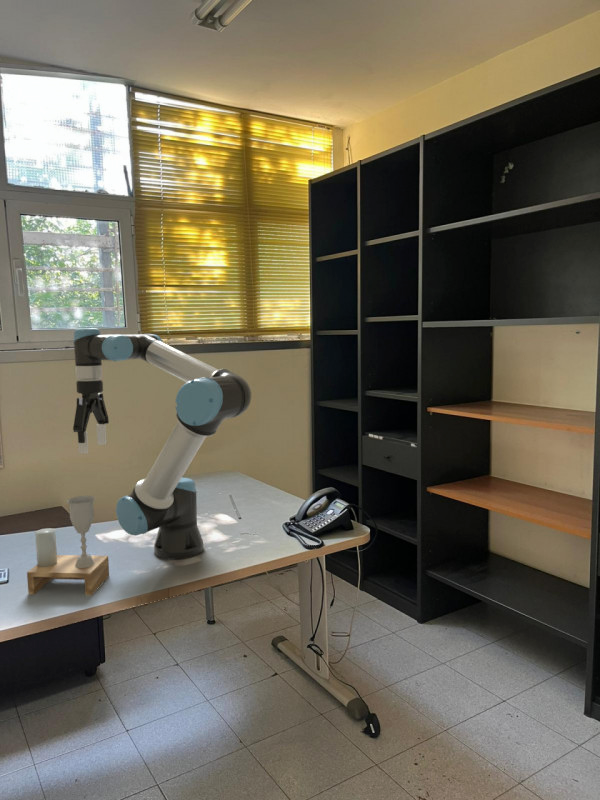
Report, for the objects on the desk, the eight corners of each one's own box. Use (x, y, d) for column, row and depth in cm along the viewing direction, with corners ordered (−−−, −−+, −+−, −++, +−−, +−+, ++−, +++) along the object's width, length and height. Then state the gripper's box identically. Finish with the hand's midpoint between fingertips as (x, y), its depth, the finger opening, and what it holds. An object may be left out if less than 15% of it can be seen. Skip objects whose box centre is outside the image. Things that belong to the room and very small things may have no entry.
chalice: (85, 571, 155) (81, 504, 152) (64, 567, 157) (61, 501, 155) (104, 560, 161) (100, 497, 159) (84, 557, 164) (80, 494, 162)
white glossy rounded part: (60, 559, 162) (58, 528, 161) (51, 567, 157) (49, 534, 156) (43, 559, 163) (41, 528, 162) (33, 566, 158) (31, 534, 157)
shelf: (109, 576, 166) (108, 555, 165) (91, 595, 154) (90, 573, 153) (50, 575, 167) (49, 554, 166) (28, 594, 155) (26, 572, 154)
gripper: (94, 376, 191) (97, 441, 193) (57, 383, 166) (62, 457, 168) (117, 376, 190) (120, 441, 193) (83, 383, 165) (87, 457, 168)
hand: (93, 449), depth 180 cm, fingers open, 13 cm apart
